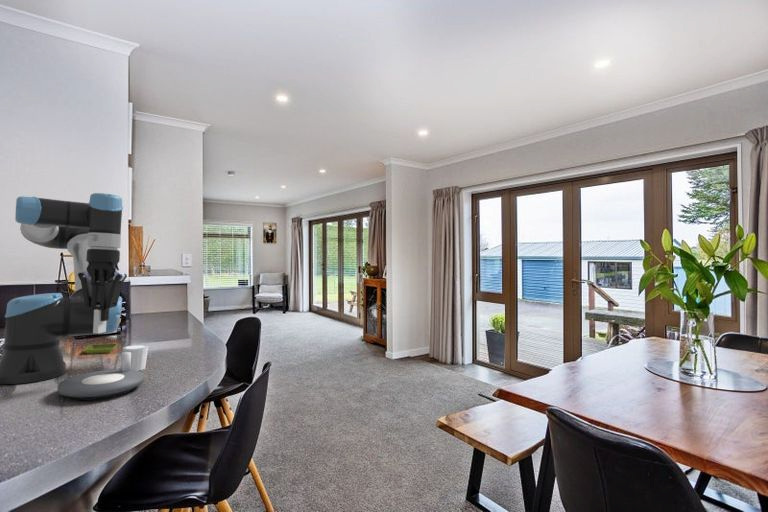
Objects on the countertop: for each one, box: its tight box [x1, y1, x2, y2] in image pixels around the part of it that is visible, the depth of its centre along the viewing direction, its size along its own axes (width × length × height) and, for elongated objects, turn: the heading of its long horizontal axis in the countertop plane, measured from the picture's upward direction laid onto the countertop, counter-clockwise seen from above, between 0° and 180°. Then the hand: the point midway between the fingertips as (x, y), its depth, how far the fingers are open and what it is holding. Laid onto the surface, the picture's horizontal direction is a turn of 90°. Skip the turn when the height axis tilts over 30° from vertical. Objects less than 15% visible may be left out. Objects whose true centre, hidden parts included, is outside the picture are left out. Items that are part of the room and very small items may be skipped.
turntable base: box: [71, 389, 132, 401], centre depth 98 cm, size 13×13×1 cm
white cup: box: [122, 344, 149, 371], centre depth 118 cm, size 7×7×7 cm
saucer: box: [83, 343, 119, 355], centre depth 137 cm, size 9×9×2 cm
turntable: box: [57, 352, 145, 398], centre depth 98 cm, size 18×18×6 cm
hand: (99, 332), depth 105 cm, fingers closed
